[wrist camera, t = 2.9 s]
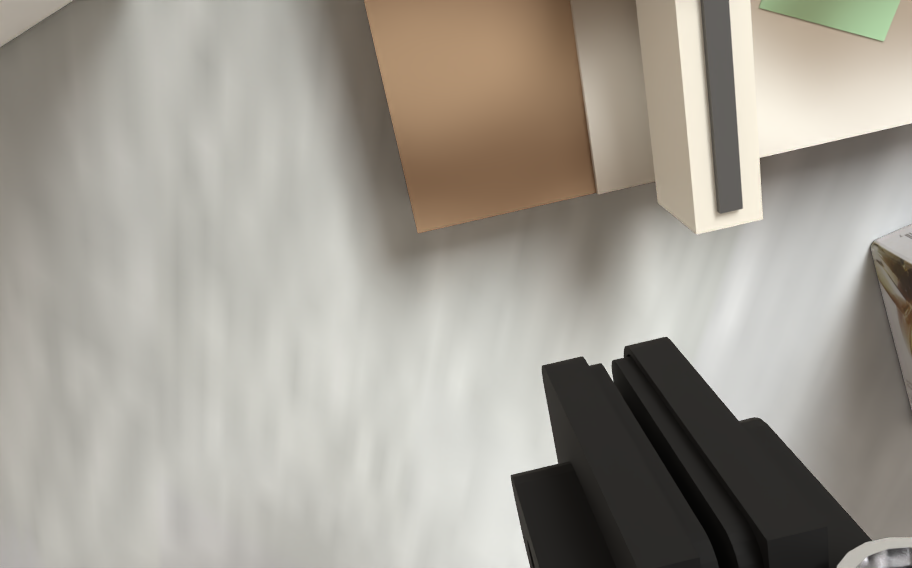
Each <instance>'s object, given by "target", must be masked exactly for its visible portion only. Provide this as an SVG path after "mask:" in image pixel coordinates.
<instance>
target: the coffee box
mask: <svg viewBox="0 0 912 568" xmlns="http://www.w3.org/2000/svg"><path fill="white" fill-rule="evenodd" d="M871 252H872V256H873V260H874V264H875V268H876V272H877V276H878V280H879V284H880V288H881V292H882V296H883V300H884V304H885V308H886V312H887V316H888V320H889V323H890V327H891V331H892V335H893V339H894V343H895V347H896V351H897V355H898V359H899V362H900V366H901V370H902V374H903V378H904V383H905V387H906V390H907V394H908V398H909V402H910V406H911V410H912V224H911V225H908V226H906V227H903V228H901V229H899V230H897V231H894V232H892V233H890V234H888V235H885V236H883V237H881V238H878V239H877V240H875V241H874V242H873V244H872V245H871Z"/></svg>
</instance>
